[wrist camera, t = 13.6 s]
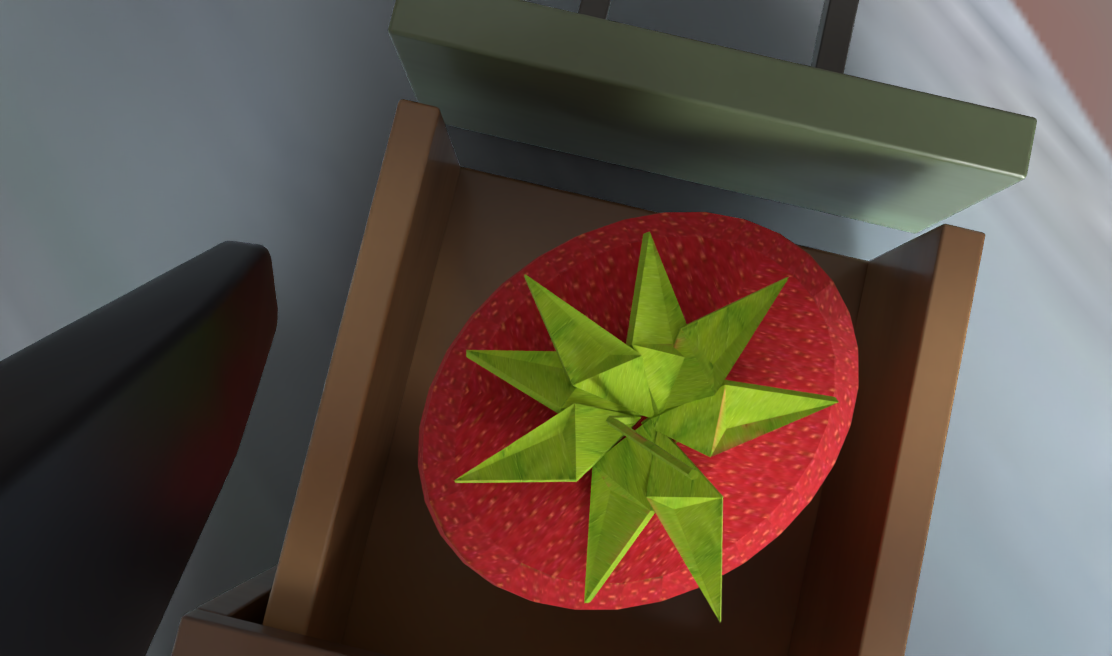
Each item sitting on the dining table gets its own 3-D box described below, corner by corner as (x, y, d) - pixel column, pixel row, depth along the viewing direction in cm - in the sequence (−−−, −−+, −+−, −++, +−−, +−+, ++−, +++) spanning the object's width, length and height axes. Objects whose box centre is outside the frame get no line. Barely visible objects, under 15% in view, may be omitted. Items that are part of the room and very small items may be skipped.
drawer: (478, -93, 22) (457, -241, 17) (960, 17, 22) (1081, -102, 17) (270, 716, 21) (179, 814, 16) (794, 844, 20) (874, 986, 15)
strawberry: (829, 429, 20) (1097, 441, 10) (542, 620, 20) (534, 824, 10) (681, 207, 21) (800, 15, 11) (397, 389, 20) (249, 364, 10)
